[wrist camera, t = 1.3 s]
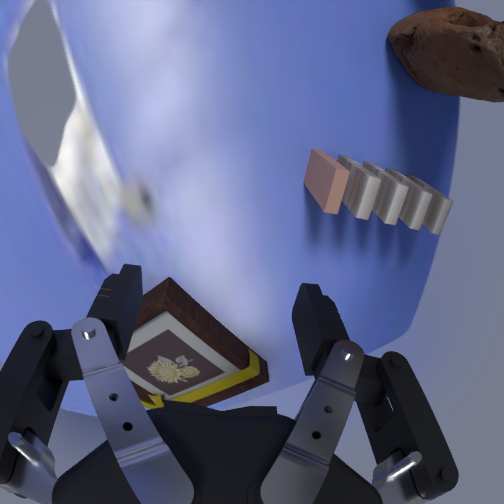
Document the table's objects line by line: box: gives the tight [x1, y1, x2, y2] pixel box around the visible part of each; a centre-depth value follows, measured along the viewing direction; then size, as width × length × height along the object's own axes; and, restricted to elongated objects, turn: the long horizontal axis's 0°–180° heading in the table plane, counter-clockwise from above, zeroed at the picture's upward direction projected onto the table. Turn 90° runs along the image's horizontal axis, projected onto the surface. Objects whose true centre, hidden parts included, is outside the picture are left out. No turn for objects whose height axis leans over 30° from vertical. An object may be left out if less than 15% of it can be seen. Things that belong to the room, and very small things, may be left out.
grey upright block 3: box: [363, 161, 409, 225], centre depth 36 cm, size 2×5×10 cm, turn 170°
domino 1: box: [304, 149, 350, 214], centre depth 35 cm, size 2×5×10 cm, turn 170°
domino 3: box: [386, 168, 433, 230], centre depth 36 cm, size 2×5×10 cm, turn 170°
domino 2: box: [337, 155, 381, 220], centre depth 35 cm, size 2×5×10 cm, turn 170°
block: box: [387, 7, 504, 102], centre depth 21 cm, size 11×8×20 cm
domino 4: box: [407, 174, 453, 235], centre depth 37 cm, size 2×5×10 cm, turn 170°
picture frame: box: [119, 277, 269, 409], centre depth 54 cm, size 28×7×30 cm
